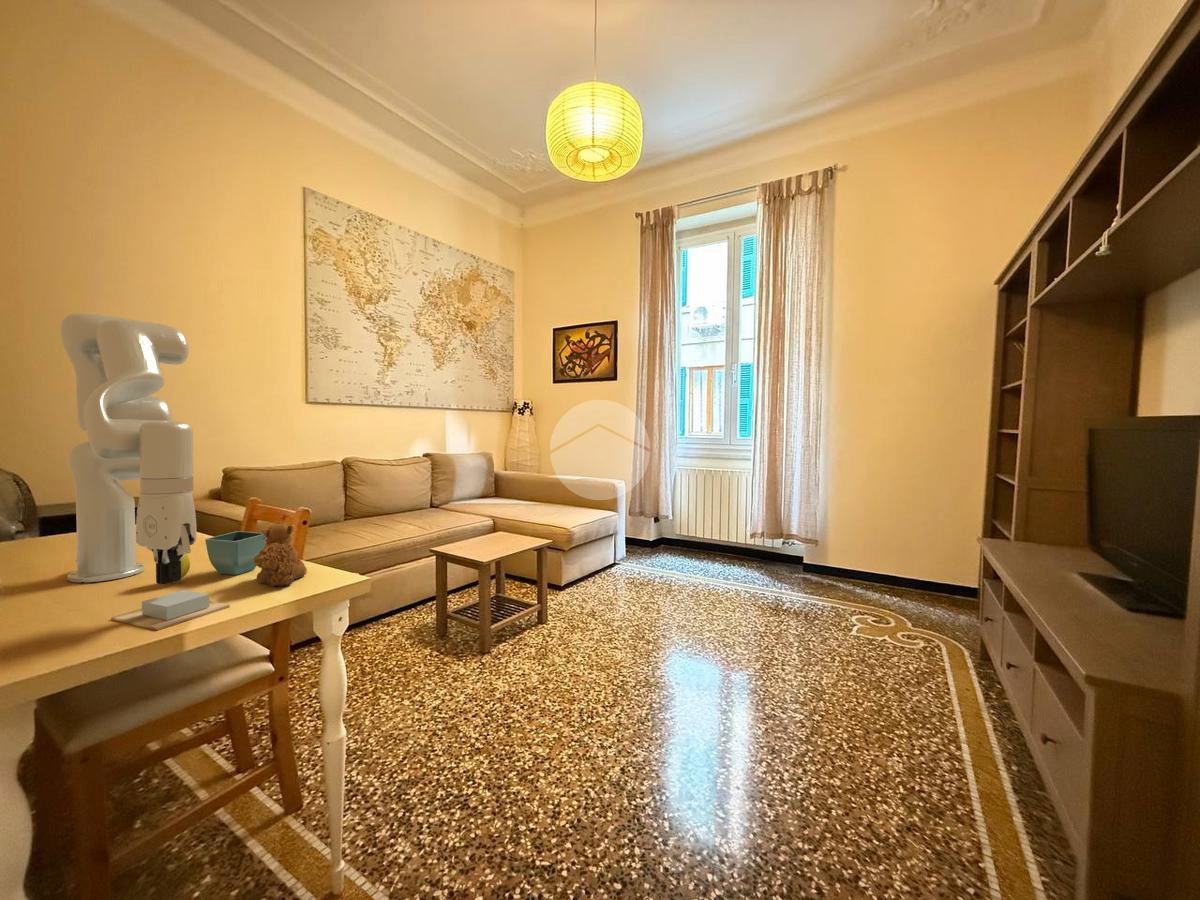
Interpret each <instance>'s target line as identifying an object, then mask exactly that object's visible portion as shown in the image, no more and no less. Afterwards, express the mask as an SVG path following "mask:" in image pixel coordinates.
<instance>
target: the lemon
mask: <svg viewBox="0 0 1200 900" xmlns="http://www.w3.org/2000/svg"><path fill="white" fill-rule="evenodd" d="M190 561H191V560H190V558H189V555H188V553H187V554H183V559H182V560H181V579H182V578H183V579H184V577H186V576H187V574H188V572H189V571H190V565H191V562H190ZM157 563H159V562H157ZM177 582H178V581H176V582H172V583H171V584H176V583H177Z"/></svg>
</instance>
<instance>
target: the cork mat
mask: <svg viewBox="0 0 1200 900" xmlns="http://www.w3.org/2000/svg"><path fill="white" fill-rule="evenodd" d="M229 608H230V604H228V603H227V604H226V603H221V602H217V601H212V600H209V607H207V608H204V609H201V610H198V611H195V612H192V613H188V614H185V615H182V616H179V617H176V618H173V619H169V620H164V619H159V618H155V617H150V616H146V615H142V608H139V609H136V610H133V611H128V612H125V613H122V614H118V615H114V616H111V621H112V620H113V621H116V622H121V623H124V624H127V625H128V624H129V625H132V626H136V627H140V626H141V628H146V629H148V630H153V631H161V630H163V629H167V628H170V627H173V626H175V625H178V624H182V623H185V622H188V621H192V620H195V619H197V618H201V617H203V616H206V615H210V614H213V613H215V612H218V611H222V610H225V609H229Z"/></svg>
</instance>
